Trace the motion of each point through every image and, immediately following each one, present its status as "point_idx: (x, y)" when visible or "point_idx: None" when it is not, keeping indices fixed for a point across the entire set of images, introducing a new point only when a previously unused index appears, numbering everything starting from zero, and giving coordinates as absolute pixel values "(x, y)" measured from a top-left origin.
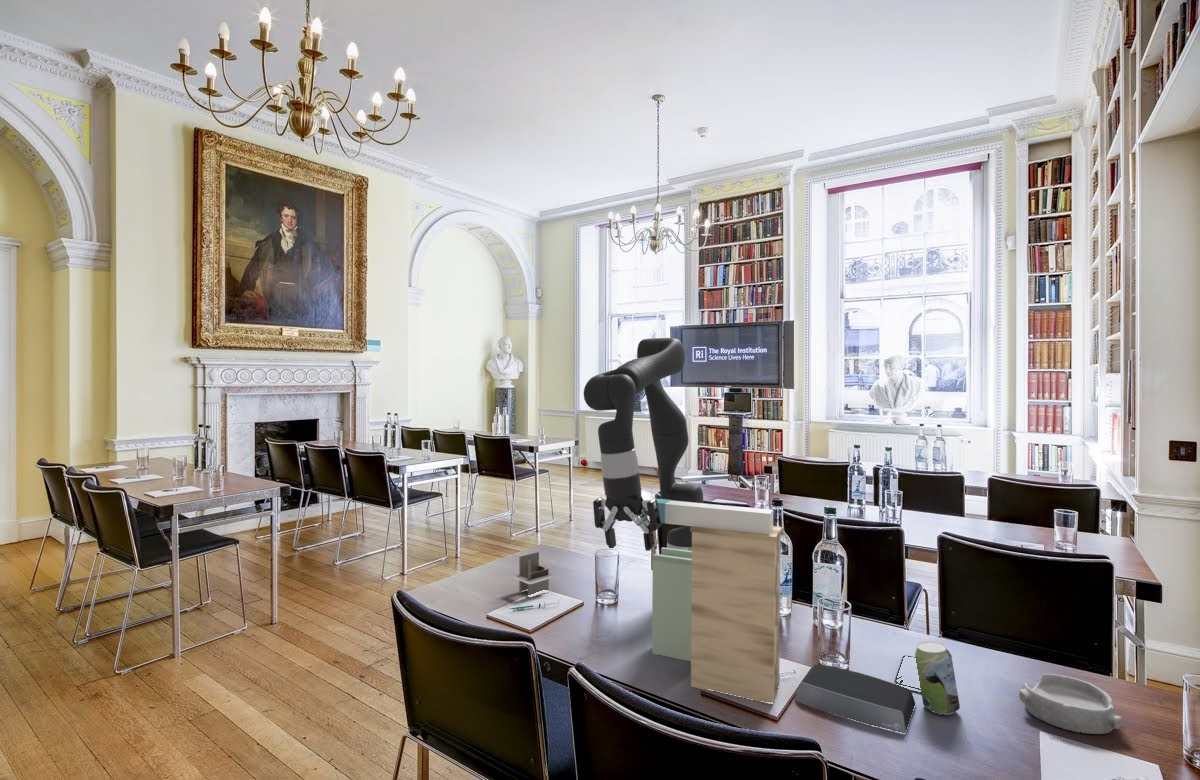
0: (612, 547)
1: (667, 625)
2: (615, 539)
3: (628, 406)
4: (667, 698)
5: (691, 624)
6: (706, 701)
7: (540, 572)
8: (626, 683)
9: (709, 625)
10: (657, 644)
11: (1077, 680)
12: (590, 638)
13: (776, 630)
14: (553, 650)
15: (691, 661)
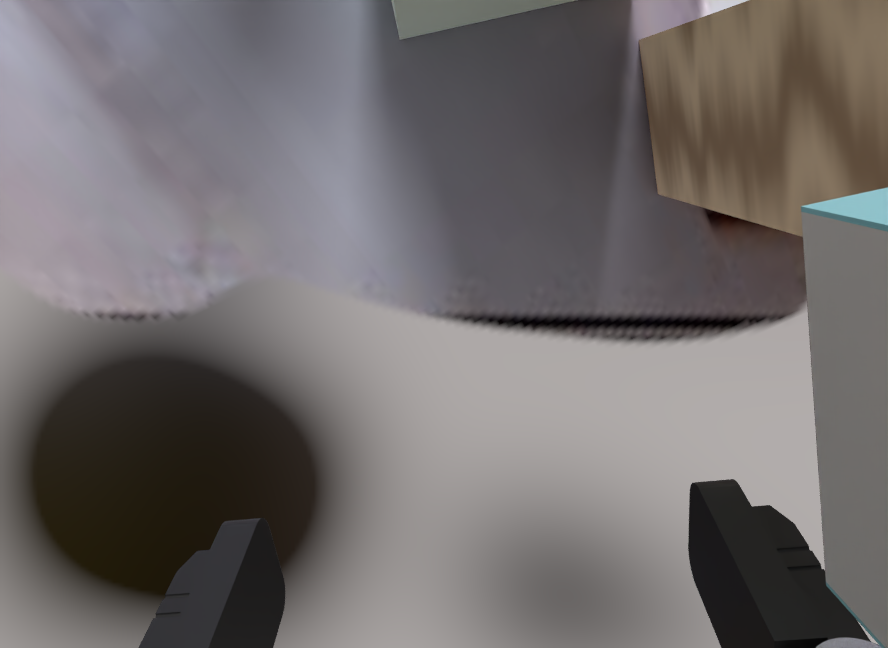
0: (280, 584)
1: (482, 2)
2: (245, 561)
3: None
4: (621, 312)
5: (770, 226)
6: (740, 249)
7: None
8: (455, 315)
9: None
10: (424, 28)
11: None
12: (86, 83)
13: None
14: (59, 279)
15: (694, 203)
